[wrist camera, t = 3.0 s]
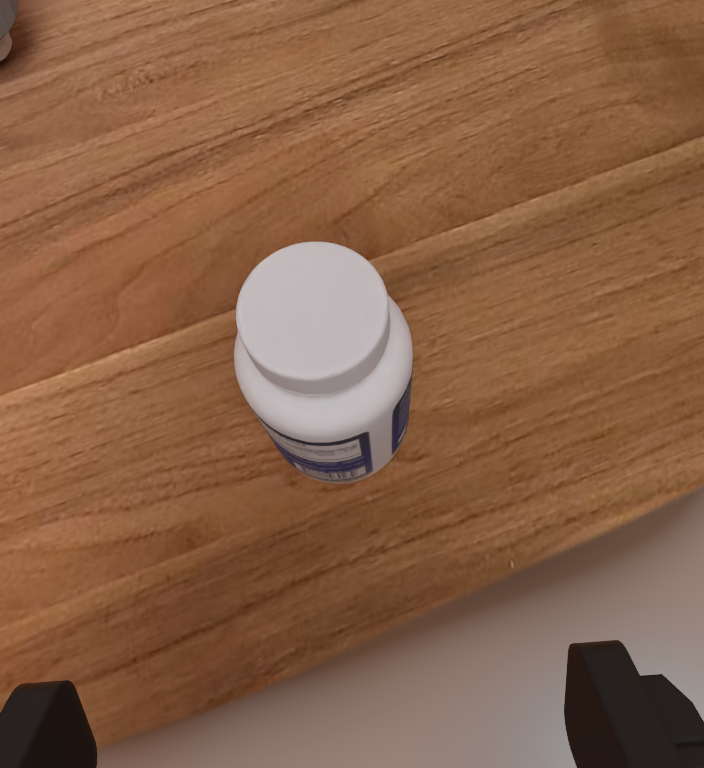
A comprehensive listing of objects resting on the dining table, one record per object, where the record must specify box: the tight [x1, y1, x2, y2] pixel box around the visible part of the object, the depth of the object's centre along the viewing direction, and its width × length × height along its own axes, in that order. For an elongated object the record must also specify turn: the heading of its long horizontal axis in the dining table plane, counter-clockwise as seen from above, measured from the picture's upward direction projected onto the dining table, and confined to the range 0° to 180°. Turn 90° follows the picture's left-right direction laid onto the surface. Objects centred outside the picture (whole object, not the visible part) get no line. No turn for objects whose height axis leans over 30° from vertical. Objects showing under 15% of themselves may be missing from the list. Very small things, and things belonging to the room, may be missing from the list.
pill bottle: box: [234, 242, 413, 484], centre depth 21 cm, size 5×5×10 cm
